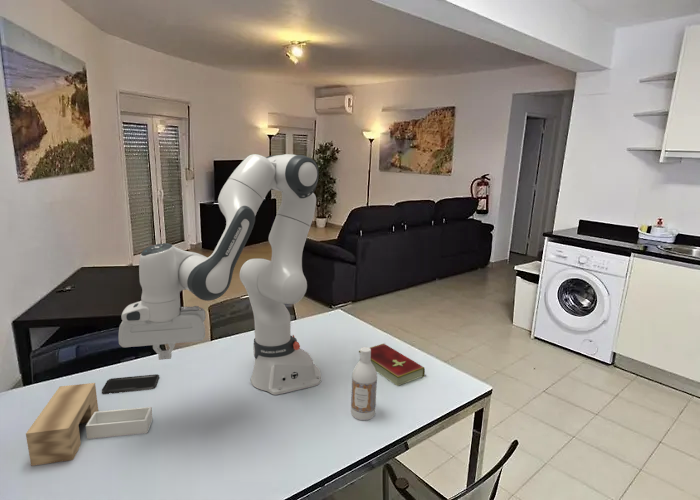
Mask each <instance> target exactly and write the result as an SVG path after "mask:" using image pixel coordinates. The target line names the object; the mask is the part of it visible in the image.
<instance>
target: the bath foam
mask: <svg viewBox="0 0 700 500" xmlns="http://www.w3.org/2000/svg"><path fill="white" fill-rule="evenodd" d="M359 351H360V353H359V361H358V362H357V363H356V365H355V366H354V369H353V370H352V375H351V397H350V398H351V400H350V401H351V402H350V414H351V416H352V417H353V418H355V419H357V420H360V421H367V420H371V419H373V418H374V417H375V415H376V407H377V387H378V385H377V384H378V375H377V374H378V372H376V369H375V367H374V366H373V364H372V363H371V361H370V360H371V349H370V347H367V346H363V347H361V348H360V350H359Z"/></svg>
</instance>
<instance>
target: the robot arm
mask: <svg viewBox="0 0 700 500" xmlns="http://www.w3.org/2000/svg"><path fill="white" fill-rule="evenodd" d="M318 181H319V168H318V164H317V163H316V161H315V160H314V159H312V158H311V157H309V156H308V155H307V156H306V155H304V154H293V153H289V154H288V153H285V154H278V155H275V154H273V155H269V156H264V155H261V154H258V153H257V154H255V153H253V154H250V155H248V156H247V157H245V158H244V160H242V161H241V162H240V164H239V165H238V166H237V167H236V168H235V169H234V170H233V172H232V173H231V174H230V176H229V177H228V178H227V180H226V182H225V183H224V185H223V186H222V188H221V190H220V192H219V195H218V198H217V204H218V207H219V210H220V212H221V213H222V215H223V216H224V218H225V221H226V222H225V224H226V225H225V229H224V230H223V233H222V234H221V237H220V239H219V240H218V242H217V243H216V244H217V245H216V246H215V247H214V250H213V252H212V253H211V254H210V256H209V255H208V257H207V256H205V255H204V254H201V253H198V252H195V251H187V250H184V249H181V248H179V247H177V246H174V245H173V244H171V243H167V242H165V243H156V244H152V245H149V246H147V247H146V248H145V249H143V250H142V251H141V253H140V254H139V263H138V271H139V272H138V273H139V274H138V276H139V285H140V287H141V289H142V291H141V296H140V297H141V298H140V299H141V300H140V301H136V302H133V303H130V304H128V305H127V306H126V307H125V308H124V309H123V311H122V313H121V317H120V318H121V320H122V321H121V323H120V324H119V328H118V344H119V345H120V347H122V348H131V347H133V348H134V347H145V346H146V347H147V346H152V349H153V350H154V352H155V353H156V354H157V355H158V360H171V359H172V356H173V355H172V354H173V353H172V352H173V350H174V349H175V346H176V344H181V343H183V344H184V343H197V342H202V341H203V340H204V339H205V337H206V327H205V326H206V325H205V321H206V316H207V315H206V310H205V309H204V308H203V307H200V306H199V305H194V306H181V298H180V297H181V296H180V293H181V292H182V291H185V290H187V291H188V292H191V294H193V295H194V296H196V298H197V299H200V300H202V301H208V302H209V301H210V302H211V301H214V300H217V299H218V298H221V297H223V295H224V294H226V293H227V292H228V290H229V287H230V285H231V283H232V279H233V274H234V270H235V268H236V264H237V262H238V260H239V258H240V256H241V254H242V252H243V250H244V249H245V246H246V244H247V242H248V240H249V238H250V235H251V234H252V232H253V231H252V230H253V229H254V225H255V223H256V217H257V216H256V215H257V212H258V211H259V208H260V207H261V205H262V203H263V201H264V199H265V198H266V197H267V195H268V193H269V192H270V191H271V190H272V191H279V192H281V193H280V194H281V204H280V205H279V208H278V210H277V212H276V216H275V219H274V221H273V223H272V226H271V230H270V232H269V234H268V243H269V244H270V246H271V260H269V259H266V258H250V259H248V260H247V261H244V263H243V264H242V266H241V267H240V271H239V280H240V282H241V284H242V286H244V289H245V290H246V293H247V297H248V299H249V302H250V303H249V304H250V305H251V309H252V314H253V320H254V339H253V357H254V361H253V362H254V363H253V369H252V374H251V378H250V384H251V385H252V386H253V387H255V388H257V389H258V390H261V391H265V392H268V393H270V394H272V395H274V396H275V395H276V396H277V395H282V394H286V393H289V392H290V393H291V392H296V391H299V390H303V389H307V388H312V387H315V386H318V385H320V383H321V382H322V373H321V370H320V368H319V367H318V366H317V365H316V364H315V363H314V360H313V358H312V357H311V354H310V353H308V352H307V351H305V350H304V349H302V348H301V345H300V343H299V342H298V340H297V338H296V337H295V335H294V334H291V314H290V311H289V310H288V308H287V307H286V305H287V304H288V305H295V304H298V303H299V302H300V301H301V300H302V299H303V298H304V296H305V295H306V293H307V289H308V281H307V279H306V276H305V275H304V272H303V251H304V247H305V243H306V241H307V237H308V235H309V231H310V229H311V226H312V223H313V219H314V216H315V210H316V205H317V197H316V194H315V193H314V192H315V191H316V189H317V185H318ZM285 304H286V305H285ZM160 345H168V348H169V349H168V350H162V349H161V347H160Z"/></svg>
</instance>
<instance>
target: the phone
mask: <svg viewBox="0 0 700 500" xmlns="http://www.w3.org/2000/svg"><path fill="white" fill-rule="evenodd" d="M159 380H160V375H159V374H149V375H148V374H147V375H146V374H145V375H144V374H143V375H134V376H125V377H114V378H113V377H112V378H109V379H107V380H106V382H105V384H104V385H103V387H102V389H101V394H102V395H110V394H109V393H112V394H120V393H119V392H122V393H130V392H139V391H150V390H151V391H152V390H155V389H156V388H157V385H158V383H159Z"/></svg>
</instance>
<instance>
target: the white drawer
mask: <svg viewBox="0 0 700 500" xmlns="http://www.w3.org/2000/svg"><path fill="white" fill-rule="evenodd" d="M152 408H153V407H152V406H144V407H134V408H123V409H121V408H120V409H111V410H109V409H108V410H100V411H99V410H98V412H94V414H93V415H92V417H91V418H90V420H89V422H88V423H86V425H85V431H86V432H85V433H86V439H87V440H91V439H92V440H93V439H103V438H109V437H111V438H112V437H113V438H114V437H120V436H121V437H122V436H129V435H130V436H131V435H141V434H148V432H149V429H150V427H151V425H152V421H153V419H154V418H153V409H152Z"/></svg>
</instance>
